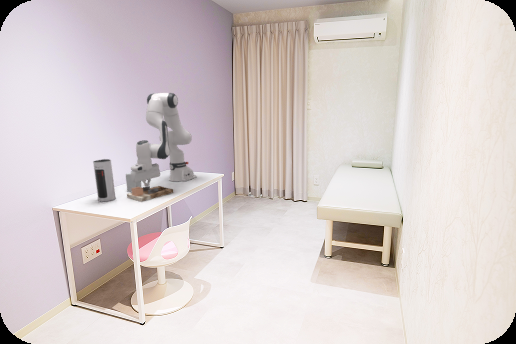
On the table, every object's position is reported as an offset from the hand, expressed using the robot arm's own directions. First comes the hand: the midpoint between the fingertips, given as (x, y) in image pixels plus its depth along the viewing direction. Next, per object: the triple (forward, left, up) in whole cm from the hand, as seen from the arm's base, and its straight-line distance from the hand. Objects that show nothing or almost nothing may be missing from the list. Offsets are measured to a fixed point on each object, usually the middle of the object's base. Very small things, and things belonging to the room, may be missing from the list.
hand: (147, 185), depth 216 cm
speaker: (+21, -15, -7) cm, 26 cm away
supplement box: (-2, -20, -7) cm, 21 cm away
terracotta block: (+8, 0, -4) cm, 9 cm away
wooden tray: (-2, 0, -7) cm, 7 cm away
